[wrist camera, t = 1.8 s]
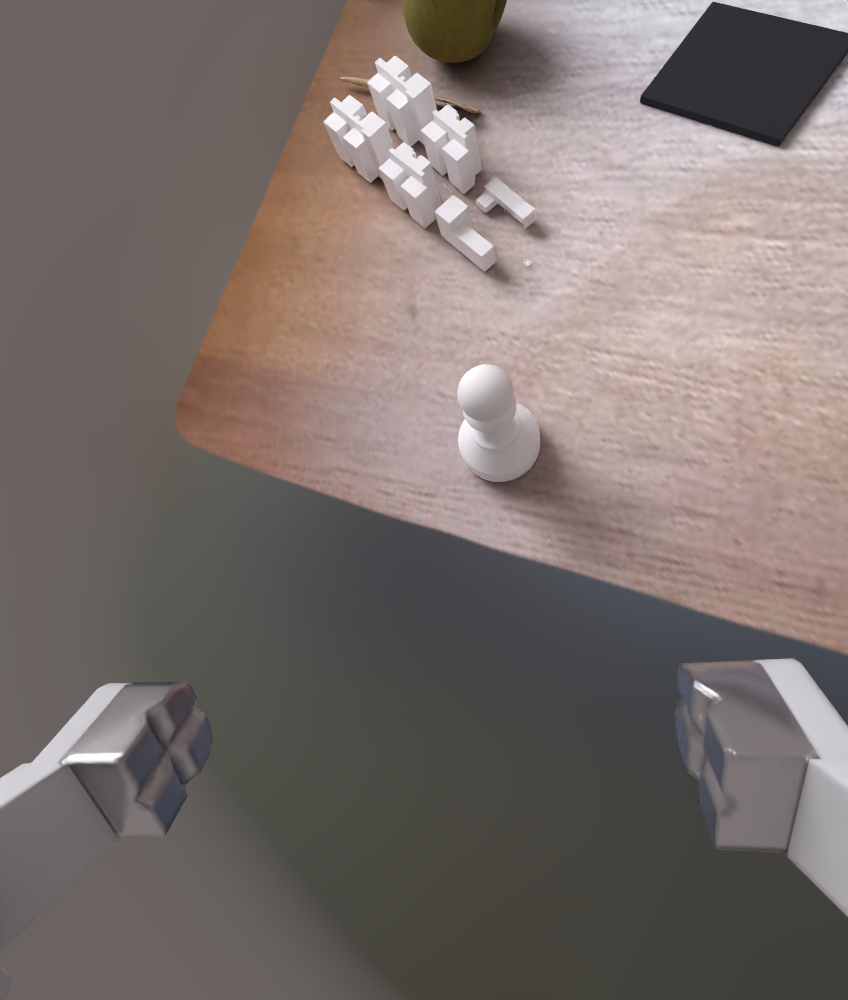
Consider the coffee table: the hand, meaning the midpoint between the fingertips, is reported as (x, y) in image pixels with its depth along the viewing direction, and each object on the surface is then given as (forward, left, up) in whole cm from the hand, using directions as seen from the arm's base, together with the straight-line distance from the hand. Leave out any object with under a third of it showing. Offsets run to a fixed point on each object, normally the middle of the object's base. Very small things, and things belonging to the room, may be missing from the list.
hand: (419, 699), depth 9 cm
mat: (+10, -41, -23) cm, 48 cm away
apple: (+27, -37, -19) cm, 50 cm away
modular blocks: (+25, -24, -23) cm, 41 cm away
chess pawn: (+8, -10, -23) cm, 26 cm away
